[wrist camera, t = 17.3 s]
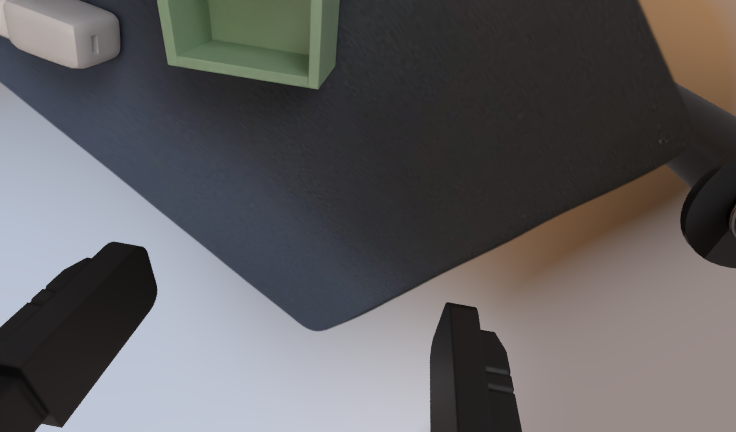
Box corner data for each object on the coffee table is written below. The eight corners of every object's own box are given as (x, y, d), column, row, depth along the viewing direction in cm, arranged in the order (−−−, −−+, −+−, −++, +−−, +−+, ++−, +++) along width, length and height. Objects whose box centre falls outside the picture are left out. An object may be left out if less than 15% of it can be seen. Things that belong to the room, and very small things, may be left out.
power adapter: (4, 18, 36) (-62, 29, 31) (-9, -43, 33) (-83, -40, 28) (125, 62, 37) (80, 80, 32) (123, 7, 34) (73, 18, 29)
